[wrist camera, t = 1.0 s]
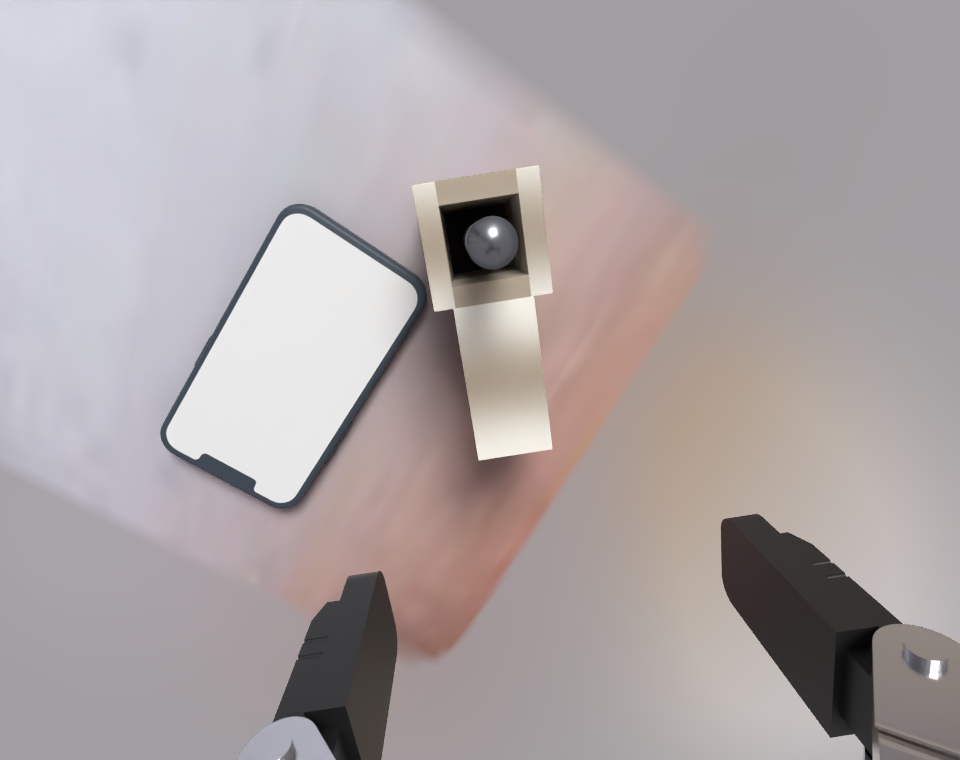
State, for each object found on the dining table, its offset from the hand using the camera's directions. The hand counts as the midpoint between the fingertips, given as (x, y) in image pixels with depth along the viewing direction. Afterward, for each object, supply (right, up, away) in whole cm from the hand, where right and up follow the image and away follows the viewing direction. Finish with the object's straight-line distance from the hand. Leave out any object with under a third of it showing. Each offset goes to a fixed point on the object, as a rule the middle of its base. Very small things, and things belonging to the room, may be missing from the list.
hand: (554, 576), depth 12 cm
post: (-2, +12, +15) cm, 20 cm away
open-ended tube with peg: (-1, +9, +16) cm, 19 cm away
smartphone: (-12, +6, +17) cm, 22 cm away
